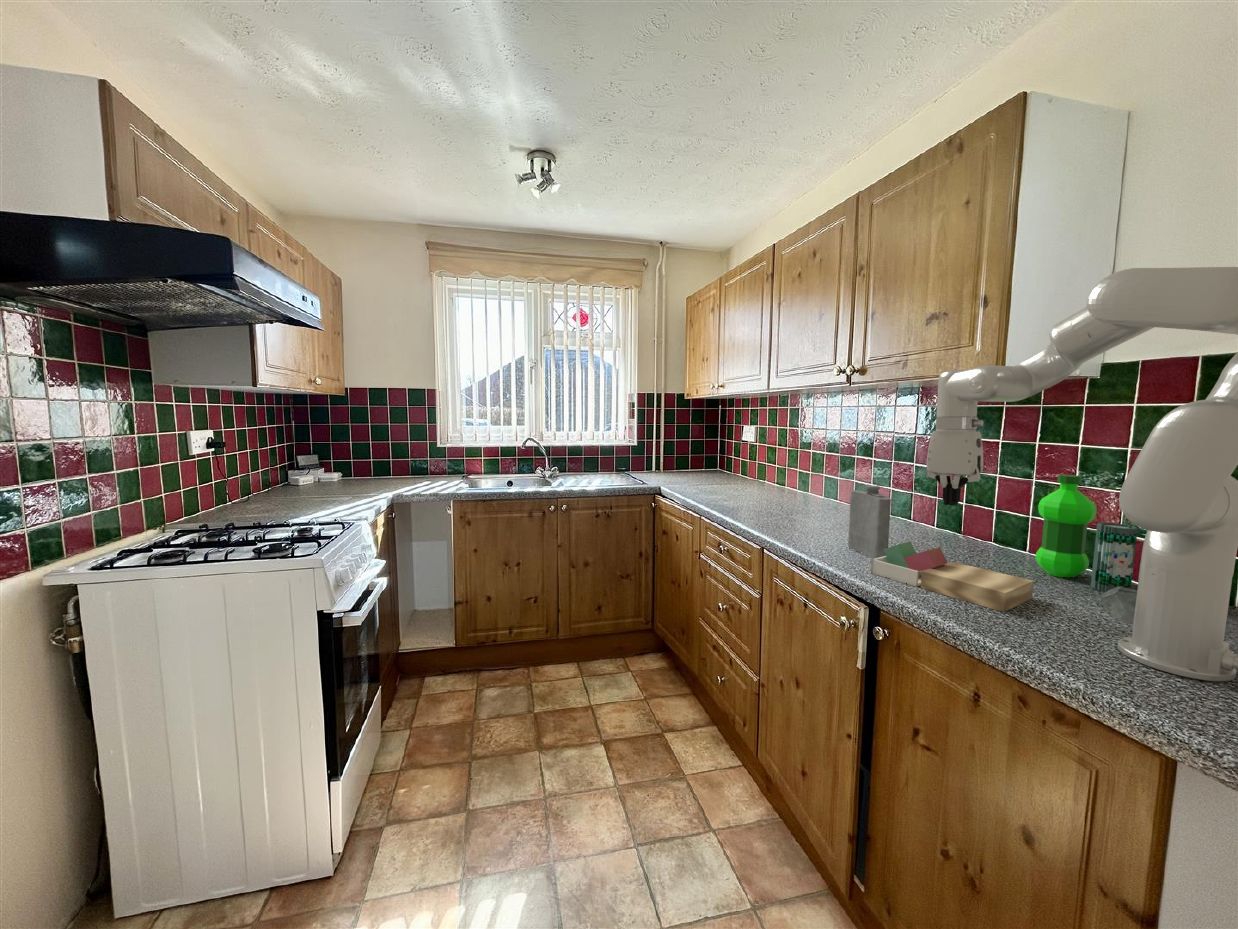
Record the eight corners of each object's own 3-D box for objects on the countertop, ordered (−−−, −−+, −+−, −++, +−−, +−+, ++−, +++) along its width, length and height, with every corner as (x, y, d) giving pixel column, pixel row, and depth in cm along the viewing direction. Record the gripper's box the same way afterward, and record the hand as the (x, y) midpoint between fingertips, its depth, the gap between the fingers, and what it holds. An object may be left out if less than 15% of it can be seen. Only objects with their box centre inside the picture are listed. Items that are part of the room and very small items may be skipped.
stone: (1195, 636, 90) (1158, 602, 98) (1200, 619, 88) (1162, 586, 97) (1120, 633, 93) (1092, 600, 102) (1124, 616, 92) (1095, 584, 101)
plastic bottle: (1091, 584, 114) (1102, 479, 111) (1032, 575, 121) (1041, 475, 118) (1087, 574, 121) (1097, 475, 119) (1032, 565, 128) (1041, 472, 126)
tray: (946, 576, 119) (947, 562, 119) (916, 586, 112) (917, 571, 112) (901, 564, 129) (902, 551, 128) (870, 573, 122) (871, 559, 121)
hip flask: (845, 547, 146) (849, 481, 144) (858, 547, 146) (861, 481, 144) (878, 563, 130) (882, 490, 128) (892, 563, 130) (897, 489, 128)
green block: (910, 541, 123) (896, 546, 126) (897, 544, 119) (883, 549, 123) (921, 564, 120) (907, 568, 124) (908, 568, 117) (894, 572, 120)
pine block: (1032, 598, 105) (1033, 580, 105) (1003, 612, 98) (1005, 593, 97) (951, 577, 119) (952, 561, 118) (920, 587, 111) (921, 571, 111)
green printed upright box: (1098, 592, 109) (1105, 527, 107) (1086, 583, 114) (1093, 521, 113) (1135, 596, 106) (1143, 529, 105) (1120, 587, 112) (1128, 524, 110)
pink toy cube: (947, 563, 115) (939, 547, 117) (934, 567, 112) (926, 550, 114) (924, 569, 120) (916, 554, 121) (911, 573, 117) (903, 557, 118)
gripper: (1002, 425, 105) (996, 508, 107) (929, 424, 118) (925, 499, 120) (986, 425, 101) (980, 511, 103) (912, 425, 114) (908, 501, 116)
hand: (950, 504), depth 111 cm, fingers closed
